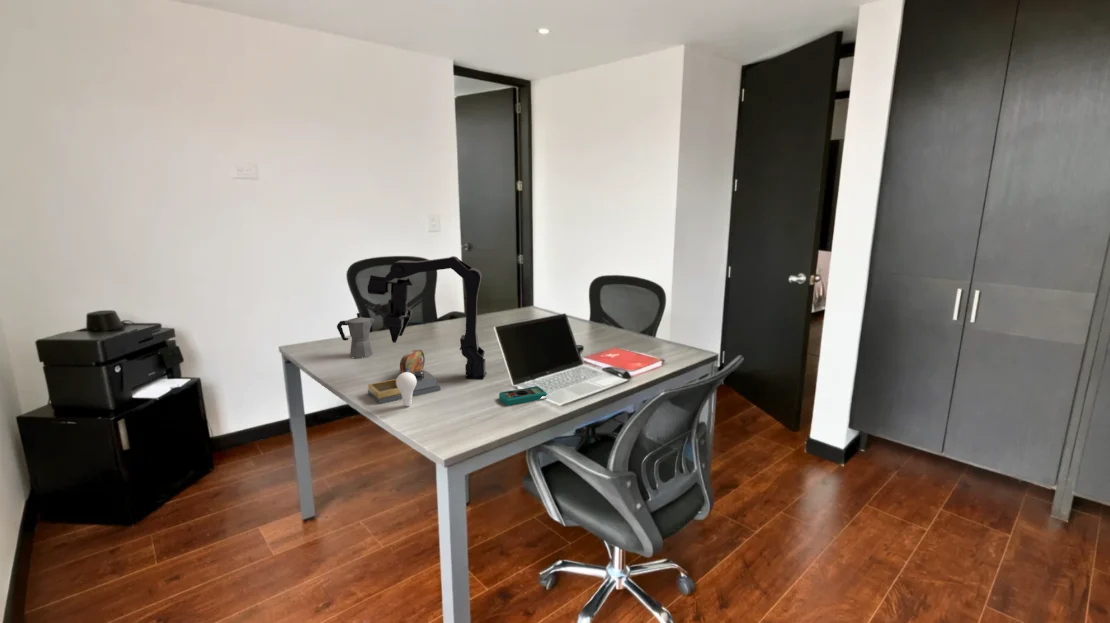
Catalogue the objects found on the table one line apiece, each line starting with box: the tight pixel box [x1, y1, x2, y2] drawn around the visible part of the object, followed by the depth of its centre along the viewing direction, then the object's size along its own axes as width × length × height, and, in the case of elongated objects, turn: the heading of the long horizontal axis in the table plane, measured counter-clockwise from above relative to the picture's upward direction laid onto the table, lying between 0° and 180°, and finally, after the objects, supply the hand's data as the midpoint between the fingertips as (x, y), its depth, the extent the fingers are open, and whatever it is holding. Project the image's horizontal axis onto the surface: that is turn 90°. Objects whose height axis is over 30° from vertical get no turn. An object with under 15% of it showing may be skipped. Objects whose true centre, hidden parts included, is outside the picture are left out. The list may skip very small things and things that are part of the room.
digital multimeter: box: [498, 385, 548, 407], centre depth 166 cm, size 7×15×3 cm, turn 117°
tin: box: [399, 349, 426, 374], centre depth 188 cm, size 15×3×8 cm, turn 168°
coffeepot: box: [336, 312, 376, 359], centre depth 208 cm, size 15×9×18 cm, turn 129°
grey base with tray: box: [367, 369, 441, 405], centre depth 170 cm, size 21×11×6 cm, turn 128°
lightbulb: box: [396, 372, 417, 407], centre depth 157 cm, size 6×6×11 cm
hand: (397, 339), depth 182 cm, fingers open, 9 cm apart
